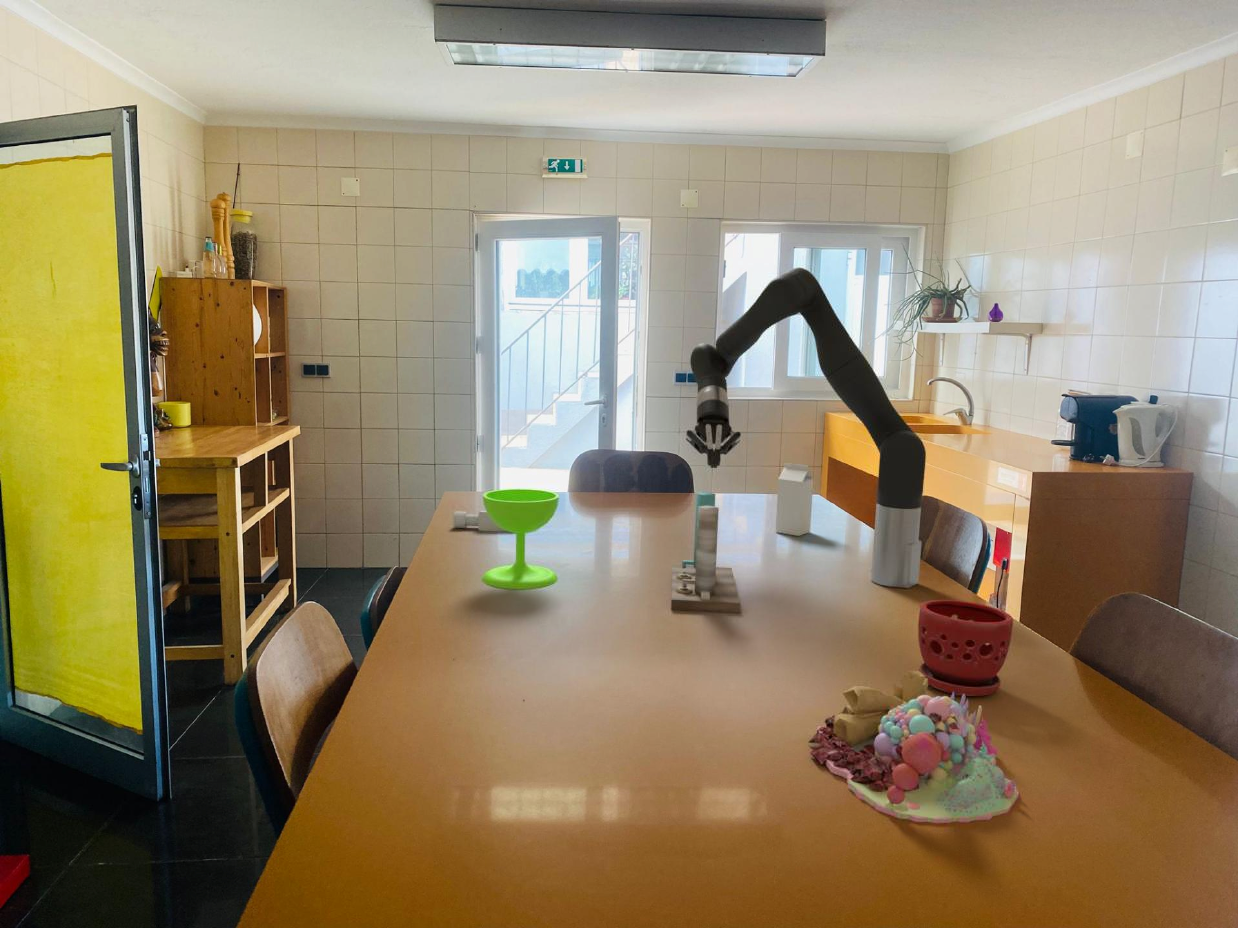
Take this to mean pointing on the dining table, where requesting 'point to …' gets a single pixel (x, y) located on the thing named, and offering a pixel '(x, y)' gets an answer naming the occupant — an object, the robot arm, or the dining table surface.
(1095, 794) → the dining table surface
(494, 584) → the wineglass
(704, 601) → the gauge board
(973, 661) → the plant pot
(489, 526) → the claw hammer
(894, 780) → the pastel sphere sculpture
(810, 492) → the milk carton
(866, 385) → the robot arm
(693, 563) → the teal lever handle
